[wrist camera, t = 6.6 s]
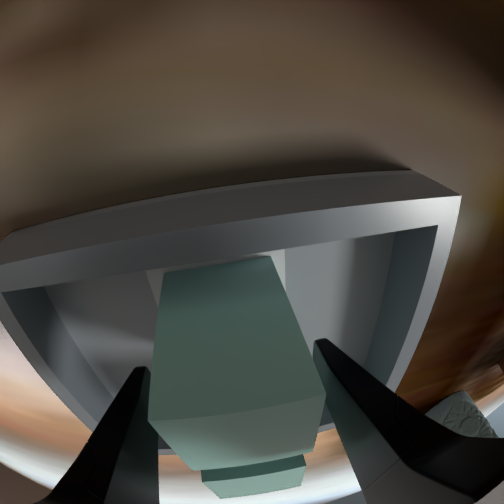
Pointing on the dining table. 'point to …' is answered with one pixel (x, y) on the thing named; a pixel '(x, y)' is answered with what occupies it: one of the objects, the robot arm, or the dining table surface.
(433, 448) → the robot arm
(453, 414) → the grey green cylinder
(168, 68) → the dining table surface
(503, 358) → the food container
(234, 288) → the block
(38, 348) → the tray
